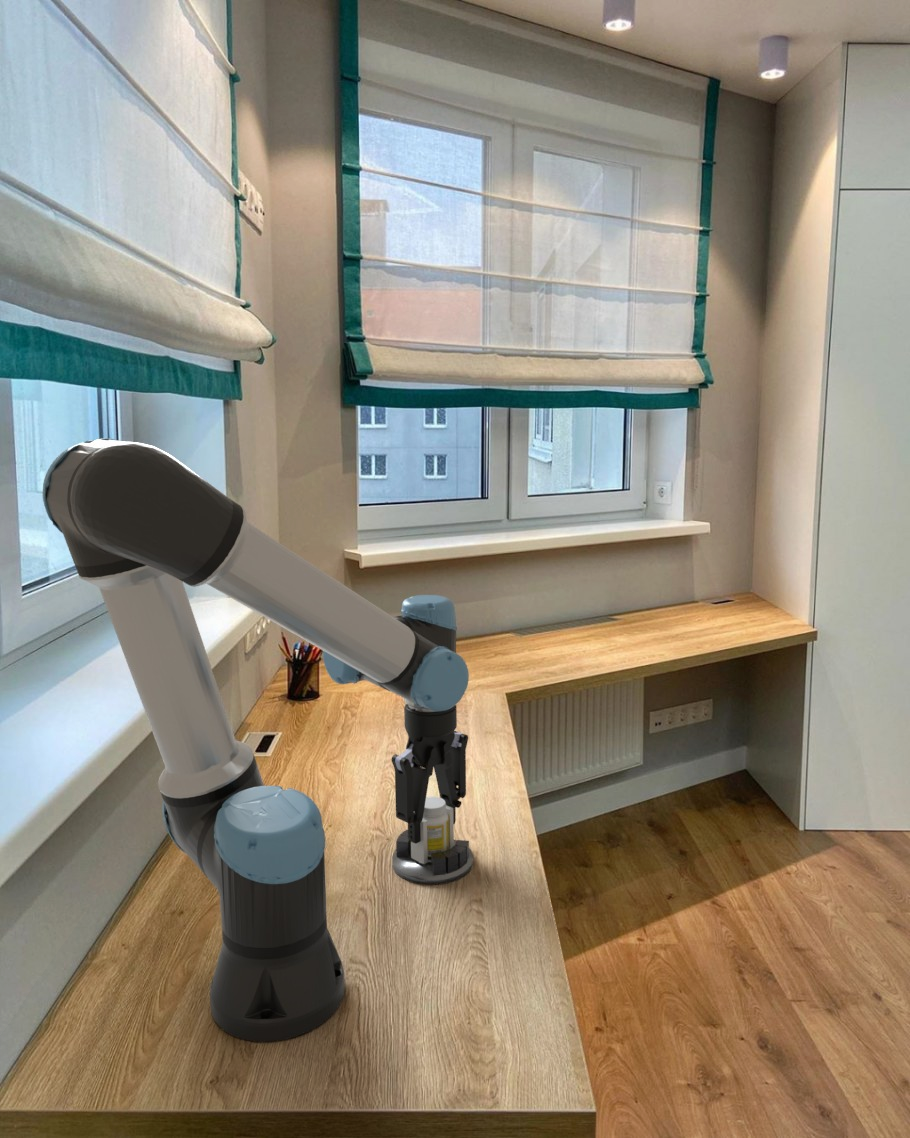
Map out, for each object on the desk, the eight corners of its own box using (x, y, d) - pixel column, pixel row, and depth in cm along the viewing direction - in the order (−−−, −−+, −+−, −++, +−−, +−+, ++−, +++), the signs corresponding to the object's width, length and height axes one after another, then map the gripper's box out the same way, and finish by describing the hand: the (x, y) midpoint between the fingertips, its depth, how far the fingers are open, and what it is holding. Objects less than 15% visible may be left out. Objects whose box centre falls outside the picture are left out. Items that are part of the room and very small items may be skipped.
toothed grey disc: (432, 894, 120) (432, 871, 120) (375, 863, 129) (375, 842, 128) (489, 861, 129) (489, 839, 128) (433, 834, 137) (432, 814, 136)
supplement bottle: (431, 844, 132) (430, 792, 130) (455, 853, 129) (455, 800, 127) (410, 856, 128) (409, 803, 127) (434, 866, 125) (433, 812, 124)
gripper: (402, 726, 115) (406, 886, 120) (491, 693, 128) (491, 839, 132) (365, 713, 120) (370, 867, 125) (454, 683, 133) (455, 824, 137)
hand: (432, 852), depth 128 cm, fingers closed on supplement bottle, 5 cm apart
